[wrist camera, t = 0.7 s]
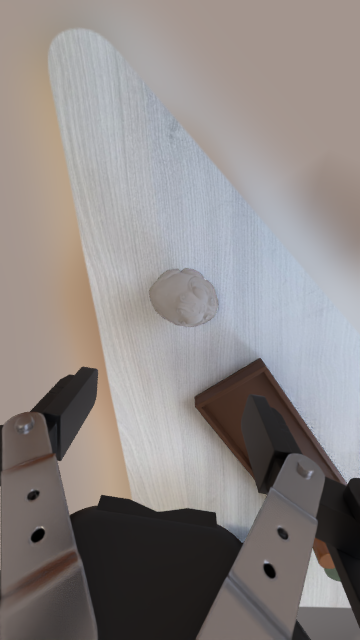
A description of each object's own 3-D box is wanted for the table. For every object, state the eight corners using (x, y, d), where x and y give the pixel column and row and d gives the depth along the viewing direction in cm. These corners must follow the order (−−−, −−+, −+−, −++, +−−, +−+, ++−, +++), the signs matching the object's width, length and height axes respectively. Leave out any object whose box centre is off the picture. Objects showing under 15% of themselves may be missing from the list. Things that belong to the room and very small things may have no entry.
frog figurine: (205, 322, 29) (210, 344, 22) (149, 308, 29) (138, 327, 22) (219, 273, 27) (229, 281, 21) (160, 258, 27) (150, 262, 20)
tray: (194, 396, 32) (194, 406, 30) (260, 357, 30) (265, 365, 28) (291, 517, 38) (297, 532, 36) (352, 491, 36) (362, 506, 34)
